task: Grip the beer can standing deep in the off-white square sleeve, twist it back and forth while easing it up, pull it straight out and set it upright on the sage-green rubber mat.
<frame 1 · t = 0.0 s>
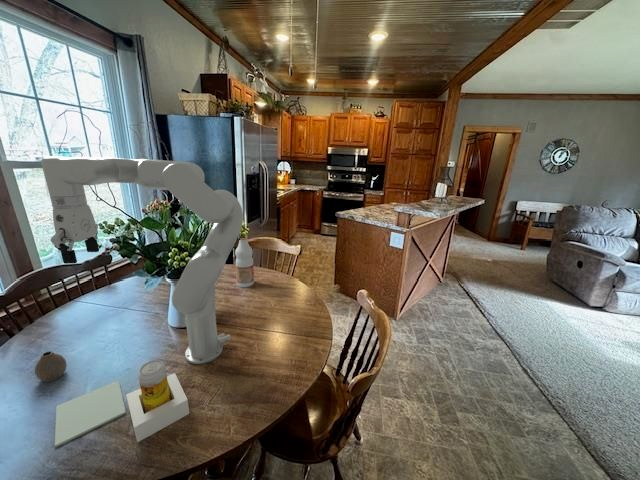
hand: (82, 257, 82), 37 cm above the table, tool pointing down, fingers open, 9 cm apart
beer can: (159, 411, 74), resting in sleeve
mat: (91, 410, 74), on the table
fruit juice: (245, 284, 150), on the table
sleeve: (159, 411, 74), on the table
vase: (54, 377, 84), on the table
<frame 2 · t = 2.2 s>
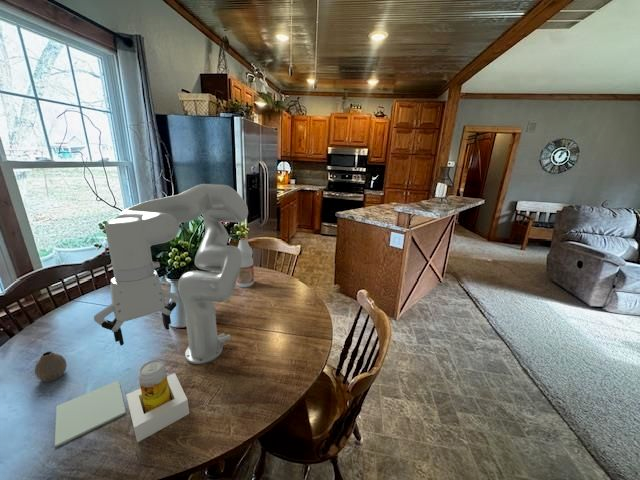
hand: (144, 334, 67), 25 cm above the table, tool pointing down, fingers open, 9 cm apart
nothing on the table moved.
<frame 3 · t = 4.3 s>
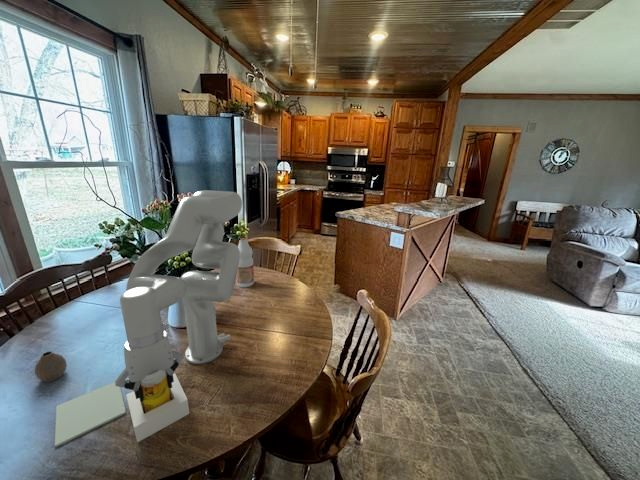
hand: (155, 391, 72), 7 cm above the table, tool pointing down, fingers closed on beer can, 6 cm apart
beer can: (159, 411, 74), resting in sleeve, touching gripper
everything else where it was.
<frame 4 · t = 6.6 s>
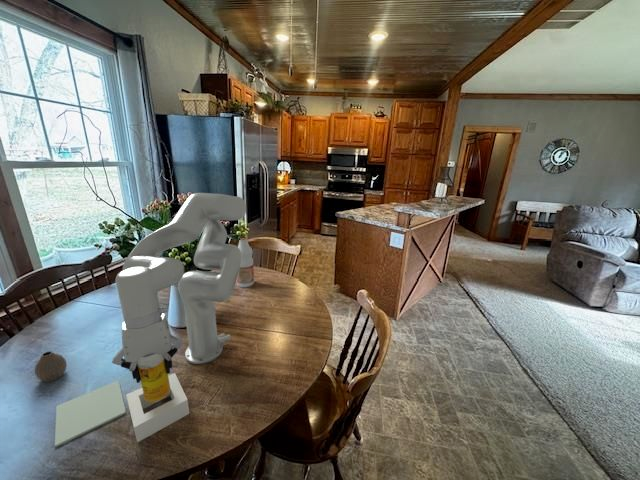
hand: (154, 373, 71), 12 cm above the table, tool pointing down, fingers closed on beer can, 6 cm apart
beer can: (158, 395, 73), point 5 cm above the table, touching gripper
everything else where it was.
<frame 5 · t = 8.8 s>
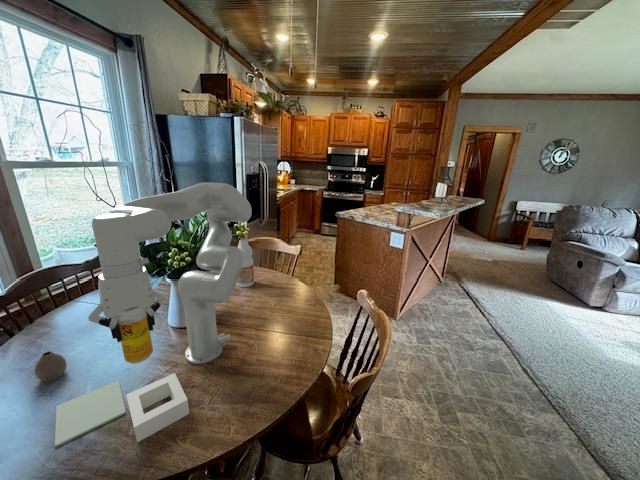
hand: (135, 333, 67), 25 cm above the table, tool pointing down, fingers closed on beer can, 6 cm apart
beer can: (139, 357, 69), point 18 cm above the table, touching gripper
everything else where it was.
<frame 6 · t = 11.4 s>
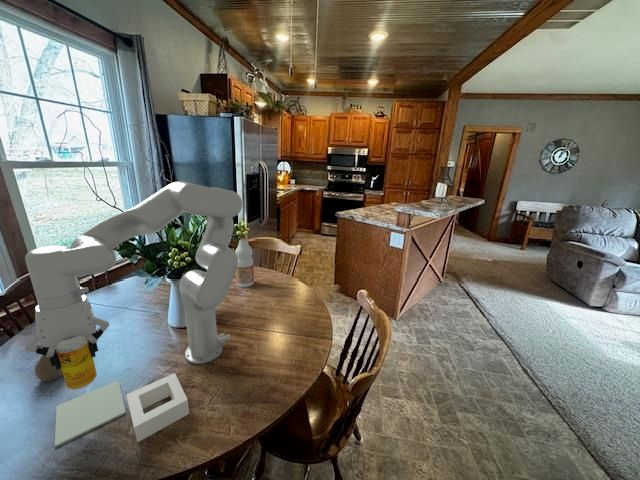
hand: (76, 359, 69), 17 cm above the table, tool pointing down, fingers closed on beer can, 6 cm apart
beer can: (82, 382, 71), point 10 cm above the table, touching gripper
everything else where it was.
when the fingers open (9 cm above the table, at t = 13.4 s): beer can drops 1 cm, resting on mat.
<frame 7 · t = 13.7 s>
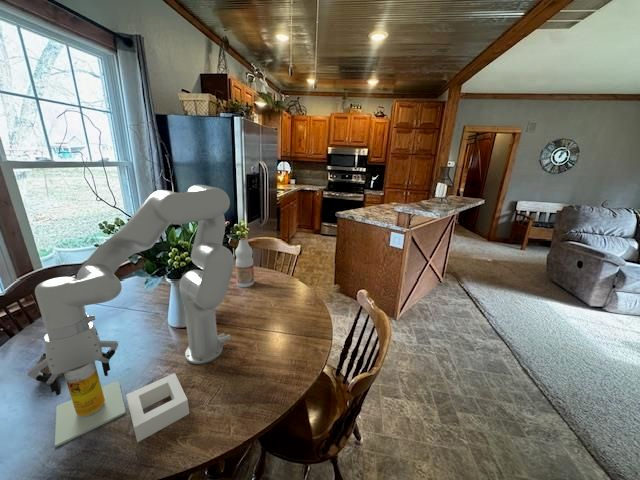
hand: (83, 381, 71), 10 cm above the table, tool pointing down, fingers open, 9 cm apart
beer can: (91, 408, 74), resting on mat
everything else where it was.
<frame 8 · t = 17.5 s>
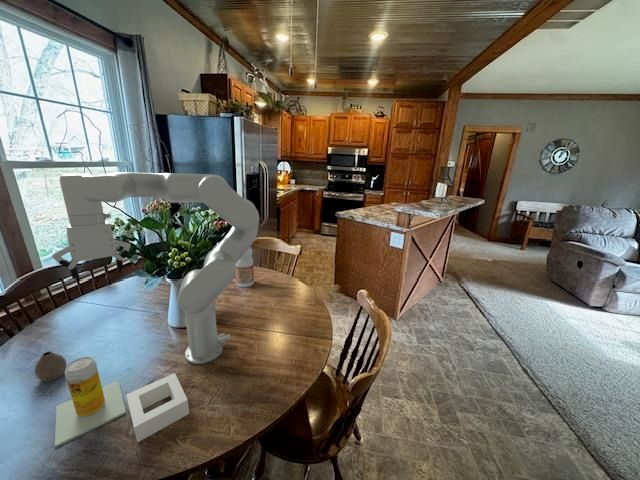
hand: (99, 275, 79), 33 cm above the table, tool pointing down, fingers open, 9 cm apart
nothing on the table moved.
at the end: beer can inside the target area on the mat (0.2 cm from its centre), point 0.4 cm above the mat's base; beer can tilted 0°; the gripper is holding nothing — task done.
